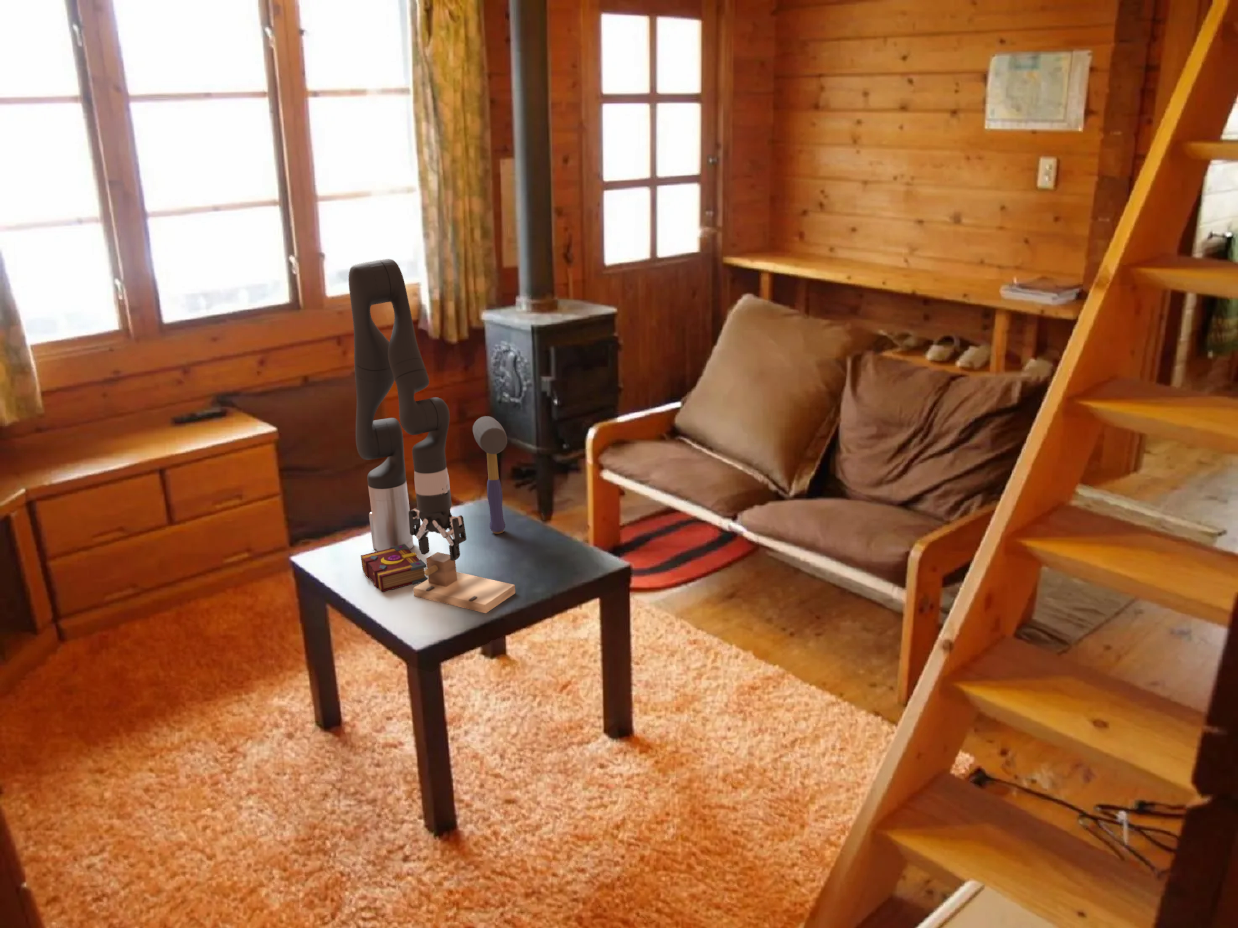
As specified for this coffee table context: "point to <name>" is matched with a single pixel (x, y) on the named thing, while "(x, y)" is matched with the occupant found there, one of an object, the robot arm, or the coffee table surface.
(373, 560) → the decorative book
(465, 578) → the board
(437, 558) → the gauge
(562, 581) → the coffee table surface
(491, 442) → the rubber mallet
